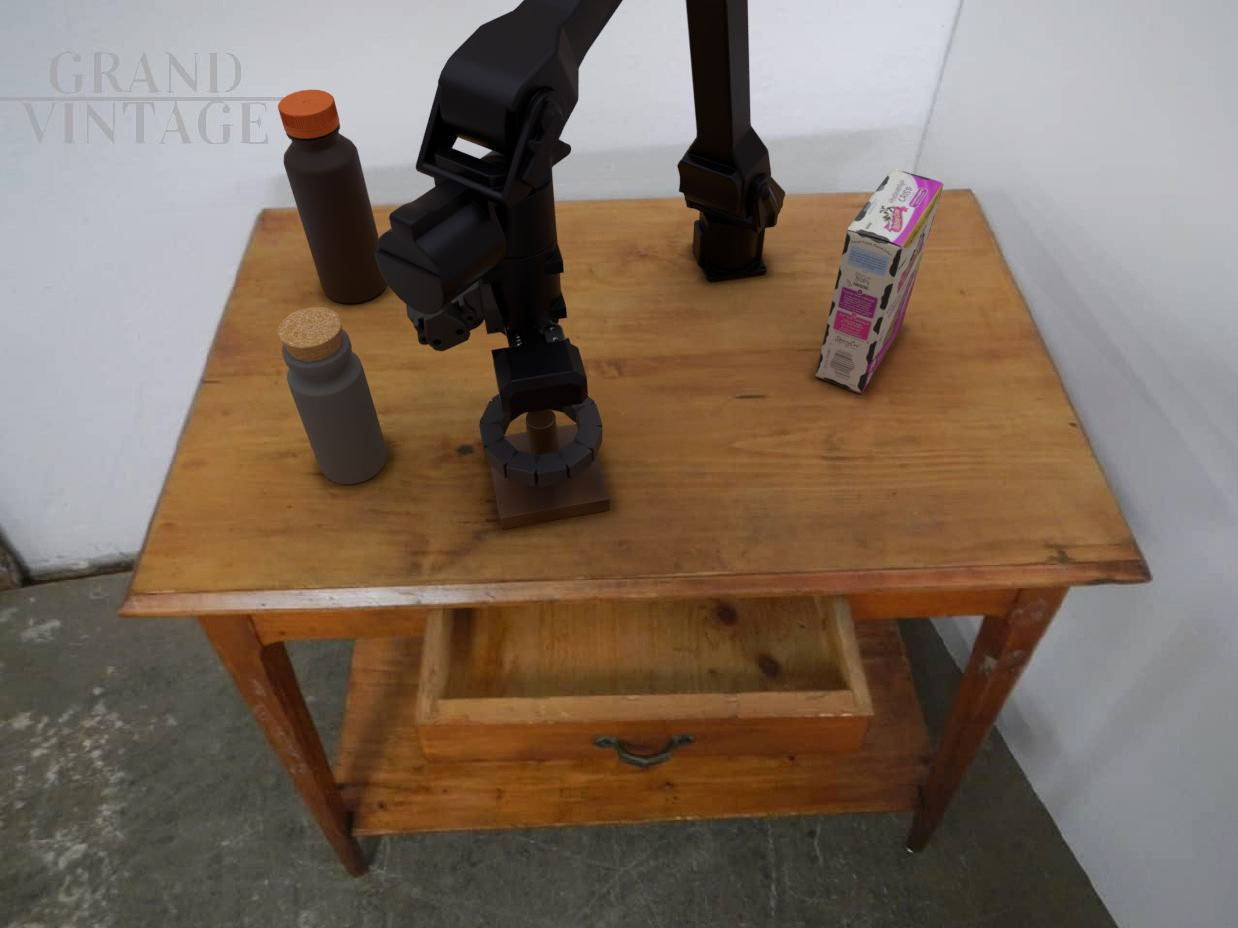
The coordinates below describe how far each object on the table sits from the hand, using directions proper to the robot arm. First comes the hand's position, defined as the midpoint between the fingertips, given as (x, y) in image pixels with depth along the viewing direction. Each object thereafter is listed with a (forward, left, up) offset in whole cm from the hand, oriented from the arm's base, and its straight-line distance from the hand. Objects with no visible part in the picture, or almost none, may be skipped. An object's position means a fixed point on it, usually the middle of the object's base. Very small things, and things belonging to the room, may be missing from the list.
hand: (534, 394), depth 77 cm
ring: (0, +4, -1) cm, 4 cm away
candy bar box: (-32, -5, -6) cm, 33 cm away
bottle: (+16, -2, -6) cm, 17 cm away
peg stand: (0, +4, -6) cm, 7 cm away
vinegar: (+15, -27, -6) cm, 32 cm away
